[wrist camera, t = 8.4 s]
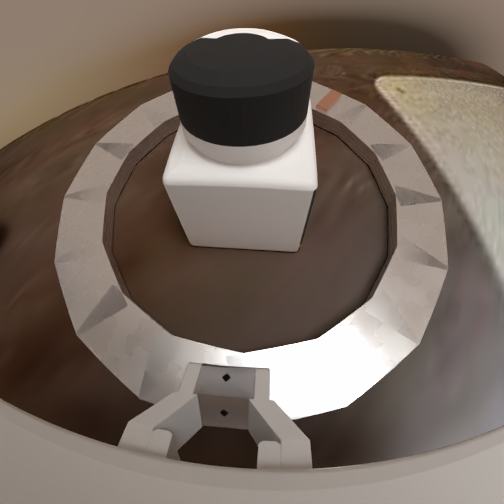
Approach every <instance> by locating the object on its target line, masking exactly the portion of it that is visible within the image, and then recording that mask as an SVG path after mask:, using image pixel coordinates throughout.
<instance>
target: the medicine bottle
mask: <svg viewBox="0 0 504 504" xmlns="http://www.w3.org/2000/svg"><path fill="white" fill-rule="evenodd" d="M313 70H314V61H313V59H312V57H311V55H310V54H309V53H308V51H307V50H306V49H305V48H304V47H303V46H302V45H301V44H300V43H299V42H297V41H295V40H294V39H292V38H289V37H287V36H284V35H281V34H278V33H275V32H271V31H267V30H262V29H253V28H240V29H239V28H238V29H228V30H223V31H218V32H214V33H211V34H208V35H206V36H203V37H201V38H199V39H197V40H195V41H192V42H191V43H189V44H187V45H186V46H184V47H183V48H182V49H181V50H180V51H179V52H178V53H177V54H176V56H175V57H174V59H173V60H172V62H171V64H170V66H169V70H168V73H169V78H170V83H171V87H172V91H173V95H174V99H175V103H176V106H177V110H178V114H179V118H180V122H181V123H180V126H179V129H178V131H177V134H176V137H175V140H174V143H173V146H172V149H171V152H170V155H169V158H168V161H167V165H166V168H165V171H164V174H163V184H164V186H165V188H166V191H167V193H168V195H169V198H170V200H171V202H172V204H173V207H174V209H175V211H176V214H177V216H178V218H179V220H180V222H181V225H182V227H183V229H184V231H185V233H186V236H187V238H188V240H189V242H190V243H191V245H194V246H206V247H222V248H239V249H255V250H272V251H288V252H297V251H298V250H299V249H300V247H301V243H302V240H303V236H304V233H305V229H306V226H307V222H308V219H309V215H310V212H311V208H312V204H313V201H314V197H315V193H316V190H317V186H318V183H317V167H316V153H315V140H314V129H313V118H312V108H311V100H310V92H311V85H312V77H313Z"/></svg>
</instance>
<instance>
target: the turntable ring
mask: <svg viewBox="0 0 504 504" xmlns="http://www.w3.org/2000/svg"><path fill="white" fill-rule="evenodd" d="M310 100H311V108H312V118H313V124H315V125H317V126H319V127H321V128H323V129H325V130H327V131H329V132H331V133H333V134H335V135H337V136H338V137H339V138H341V139H342V140H343V141H344V142H345V143H346V144H347V145H348V146H349V147H350V148H351V149H352V150H353V151H354V152H355V153H356V154H357V155H358V156H359V157H361V158H362V159H363V160H364V161H365V162H366V163H367V164H368V165H369V167H370V169H371V171H372V173H373V175H374V177H375V179H376V181H377V183H378V186H379V188H380V190H381V192H382V194H383V197H384V199H385V201H386V204H387V206H388V257H387V259H386V262H385V264H384V266H383V268H382V270H381V272H380V274H379V276H378V278H377V280H376V282H375V284H374V286H373V288H372V290H371V291H370V293H369V295H368V297H367V299H366V301H365V303H364V305H363V306H361V307H360V308H359V309H357V310H356V311H355V312H354V313H352V314H351V315H350V316H348V317H347V318H346V319H344V320H343V321H342V322H340V323H339V324H338V325H336V326H335V327H333V328H332V329H331V330H329V331H328V332H327V333H325V334H324V335H322V336H321V337H320V338H318V339H315V340H310V341H306V342H301V343H296V344H292V345H287V346H282V347H276V348H271V349H266V350H260V351H254V352H248V353H239V352H235V351H231V350H226V349H222V348H218V347H214V346H210V345H206V344H202V343H198V342H195V341H191V340H187V339H184V338H180V337H176V336H174V335H173V334H172V333H170V332H169V331H168V330H167V329H165V328H164V327H163V326H162V325H161V324H159V323H158V322H157V321H156V320H155V319H153V318H152V317H151V316H150V315H149V314H148V313H146V312H145V311H144V310H143V309H142V308H141V307H140V306H138V305H137V304H136V303H135V302H134V301H133V300H132V298H131V296H130V294H129V292H128V289H127V287H126V285H125V282H124V280H123V278H122V275H121V273H120V271H119V268H118V266H117V263H116V261H115V258H114V256H113V253H112V240H113V222H114V209H115V204H116V202H117V200H118V198H119V195H120V193H121V191H122V189H123V187H124V186H125V184H126V182H127V180H128V178H129V176H130V174H131V172H132V170H133V168H134V166H135V165H136V164H137V163H138V162H139V161H140V160H141V159H142V158H143V157H144V156H145V155H146V154H147V153H148V152H150V151H151V150H152V149H153V148H154V147H155V146H156V145H157V144H158V143H159V142H161V141H162V140H163V139H164V138H165V137H166V136H167V135H169V134H171V133H173V132H175V131H177V130H178V129H179V126H180V123H181V122H180V118H179V114H178V110H177V106H176V103H175V99H174V95H173V91H171V92H168V93H166V94H164V95H162V96H159V97H157V98H155V99H153V100H151V101H149V102H146V103H144V104H142V105H140V106H139V107H138V108H137V109H136V110H134V111H133V112H132V113H131V114H129V115H128V116H127V117H126V118H125V119H123V120H122V121H121V122H120V123H119V124H117V125H116V126H115V127H114V128H113V129H112V130H110V131H109V132H108V133H107V134H106V135H105V136H104V137H103V138H101V139H100V140H99V141H98V142H97V143H96V144H95V146H94V147H93V149H92V150H91V152H90V154H89V155H88V157H87V158H86V160H85V162H84V163H83V165H82V167H81V168H80V170H79V172H78V173H77V175H76V177H75V179H74V180H73V182H72V184H71V186H70V187H69V189H68V191H67V193H66V195H65V196H64V201H63V207H62V212H61V218H60V224H59V231H58V238H57V245H56V253H55V261H54V262H55V263H54V264H55V266H56V270H57V274H58V278H59V282H60V285H61V289H62V292H63V296H64V299H65V302H66V305H67V308H68V312H69V315H70V318H71V321H72V324H73V326H74V329H75V332H76V335H77V337H79V338H80V339H81V340H82V342H83V343H84V344H85V345H86V346H87V347H88V348H89V349H90V350H91V351H92V353H93V354H94V355H95V356H96V357H97V358H98V359H99V360H100V361H101V362H102V363H103V364H104V365H105V366H106V367H107V368H108V369H109V370H110V371H111V372H112V373H113V374H114V375H115V376H116V377H117V378H118V379H119V380H120V381H121V382H122V383H123V384H124V385H125V386H126V387H128V388H129V389H130V390H131V391H132V392H133V393H134V394H135V395H136V396H137V397H138V398H139V399H141V400H144V401H147V402H150V403H153V404H156V403H158V402H159V401H161V400H162V399H164V398H165V397H167V396H168V395H170V394H171V393H173V392H174V391H175V392H178V390H179V387H180V384H181V382H182V379H183V376H184V373H185V370H186V367H187V364H188V363H189V362H194V363H202V364H203V363H204V364H213V365H223V366H236V367H263V368H270V400H274V401H275V402H276V403H277V404H278V405H279V406H280V407H281V409H282V410H283V411H284V412H285V413H286V414H287V415H288V417H289V418H290V419H291V420H294V419H299V418H303V417H308V416H312V415H316V414H320V413H324V412H328V411H332V410H335V409H339V408H342V407H346V406H349V404H350V403H351V402H353V401H354V400H355V399H357V398H358V397H359V396H360V395H362V394H363V393H364V392H366V391H367V390H368V389H369V388H370V387H372V386H373V385H374V384H375V383H376V382H378V381H379V380H380V379H381V378H382V377H384V376H385V375H386V374H387V373H388V372H389V371H390V370H392V369H393V368H394V367H395V366H396V365H397V364H398V363H399V362H400V361H402V360H403V359H404V358H405V357H406V356H407V355H408V354H409V353H410V352H411V351H412V350H413V349H414V348H415V347H416V346H418V345H419V343H420V341H421V339H422V336H423V334H424V332H425V329H426V327H427V325H428V322H429V320H430V317H431V315H432V312H433V310H434V307H435V304H436V302H437V299H438V296H439V294H440V291H441V288H442V285H443V282H444V279H445V276H446V273H447V271H448V260H447V246H446V234H445V225H444V216H443V209H442V200H441V198H440V196H439V194H438V192H437V190H436V188H435V186H434V185H433V183H432V181H431V179H430V177H429V175H428V173H427V172H426V170H425V168H424V166H423V164H422V163H421V161H420V159H419V157H418V156H417V154H416V152H415V151H414V149H413V147H412V145H411V144H410V143H409V142H408V141H406V140H405V139H404V138H403V137H402V136H401V135H400V134H399V133H398V132H397V131H396V130H394V129H393V128H392V127H391V126H390V125H389V124H388V123H386V122H385V121H384V120H383V119H382V118H381V117H379V116H378V115H377V114H376V113H375V112H373V111H372V110H371V109H370V108H369V107H367V106H366V105H365V104H362V103H360V102H358V101H356V100H354V99H352V98H350V97H347V96H345V95H343V94H341V93H339V92H337V91H334V90H331V89H329V88H327V87H324V86H322V85H319V84H317V83H314V82H313V81H312V85H311V92H310ZM255 374H256V373H255Z"/></svg>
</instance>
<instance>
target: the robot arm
mask: <svg viewBox="0 0 504 504" xmlns="http://www.w3.org/2000/svg"><path fill="white" fill-rule="evenodd" d="M255 373H256V374H255ZM202 425H203V426H214V427H227V428H237V429H248V431H249V433H250V434H251V436H252V437H253V439H254V441H255V442H256V444H257V445H258V457H257V468H256V469H249V468H234V467H223V466H213V465H205V464H198V463H191V462H185V461H181V460H180V457H179V454H178V451H177V450H179V449H180V448H181V447H182V446H183V445H184V444H185V443H186V442H187V441H188V440H189V439H190V438H191V437H192V436H193V435H194V434H195V433H196V432H197V431H198V430H199V429H200V428H202ZM0 504H504V426H501V427H499V428H497V429H494V430H492V431H489V432H487V433H484V434H481V435H479V436H476V437H473V438H470V439H468V440H465V441H462V442H459V443H456V444H452V445H449V446H446V447H442V448H439V449H435V450H431V451H428V452H424V453H420V454H415V455H411V456H406V457H402V458H397V459H391V460H386V461H380V462H374V463H367V464H360V465H351V466H342V467H331V468H316V469H312V457H311V446H310V440H309V439H308V438H307V436H306V435H305V434H304V433H303V432H302V431H301V430H300V429H299V428H298V427H297V425H296V424H295V423H294V422H293V421H292V420H291V419H290V418H289V417H288V415H287V414H286V413H285V412H284V411H283V410H282V409H281V407H280V406H279V405H278V404H277V403H276V402H275V401H274V400H270V368H263V367H236V366H223V365H213V364H204V363H203V364H202V363H194V362H189V363H188V364H187V367H186V370H185V373H184V376H183V379H182V382H181V384H180V387H179V390H178V392H175V391H174V392H173V393H171V394H170V395H168V396H167V397H165V398H164V399H162V400H161V401H159V402H158V403H156V404H155V405H153V406H152V407H150V408H149V409H147V410H146V411H144V412H142V413H141V414H139V415H138V416H136V417H135V418H133V419H132V420H130V421H128V424H127V426H126V428H125V430H124V433H123V435H122V437H121V440H120V442H119V444H118V446H114V445H110V444H107V443H104V442H101V441H98V440H94V439H91V438H88V437H86V436H83V435H80V434H77V433H74V432H72V431H69V430H67V429H64V428H61V427H59V426H57V425H54V424H52V423H49V422H47V421H45V420H43V419H40V418H38V417H36V416H34V415H32V414H30V413H27V412H25V411H23V410H21V409H19V408H17V407H15V406H14V405H12V404H10V403H8V402H6V401H4V400H2V399H1V398H0Z"/></svg>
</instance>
